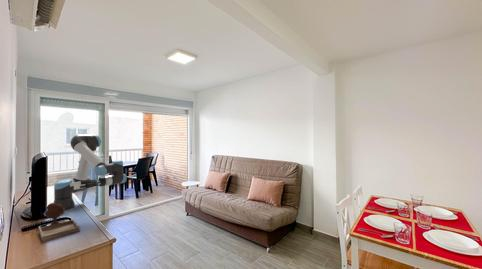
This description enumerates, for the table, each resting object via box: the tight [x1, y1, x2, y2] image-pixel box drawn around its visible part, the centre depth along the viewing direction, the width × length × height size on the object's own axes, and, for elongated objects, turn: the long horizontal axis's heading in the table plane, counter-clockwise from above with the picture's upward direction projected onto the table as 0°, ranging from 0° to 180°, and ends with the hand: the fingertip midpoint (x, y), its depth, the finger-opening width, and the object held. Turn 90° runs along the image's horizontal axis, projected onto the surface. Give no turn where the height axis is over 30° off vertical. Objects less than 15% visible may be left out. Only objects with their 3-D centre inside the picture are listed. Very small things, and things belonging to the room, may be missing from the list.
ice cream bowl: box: [44, 202, 66, 225], centre depth 147 cm, size 11×11×15 cm
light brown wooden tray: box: [38, 219, 81, 243], centre depth 135 cm, size 18×18×3 cm
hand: (71, 186), depth 154 cm, fingers open, 13 cm apart
